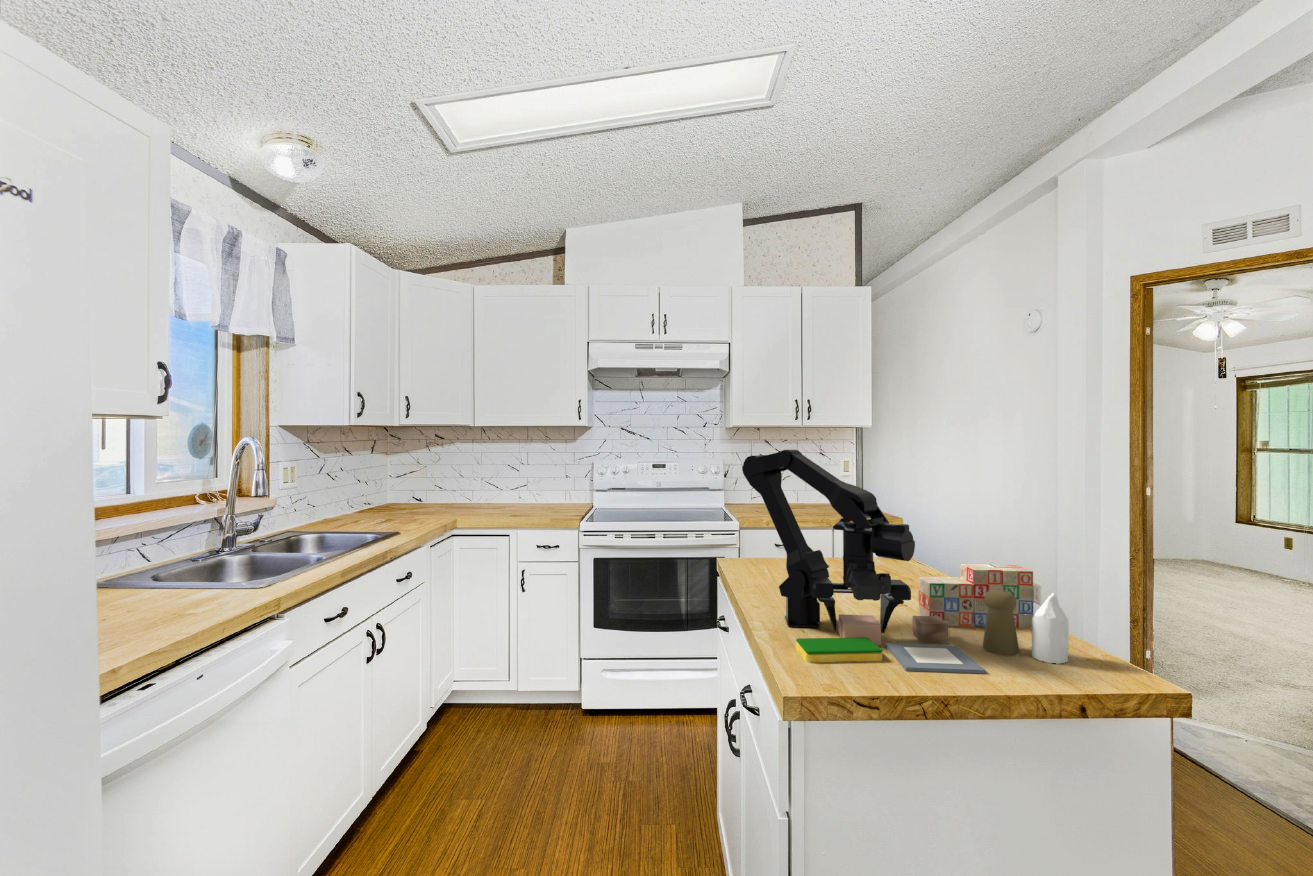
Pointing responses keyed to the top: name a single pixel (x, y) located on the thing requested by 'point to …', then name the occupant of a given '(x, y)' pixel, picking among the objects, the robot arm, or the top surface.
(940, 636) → the walnut cube
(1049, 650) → the white pointed cylinder
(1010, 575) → the stack of blocks
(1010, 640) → the cork
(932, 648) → the slate mat
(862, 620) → the pink square block
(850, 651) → the dish sponge
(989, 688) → the top surface
